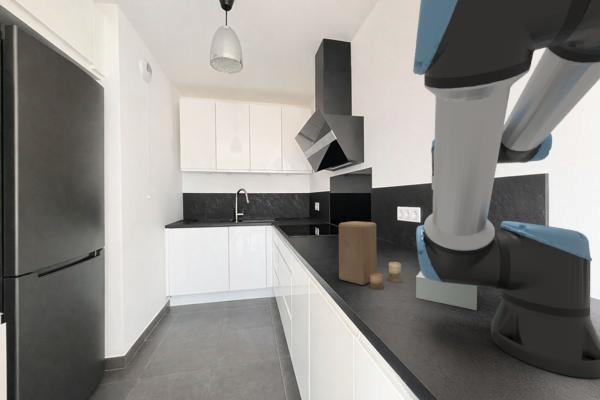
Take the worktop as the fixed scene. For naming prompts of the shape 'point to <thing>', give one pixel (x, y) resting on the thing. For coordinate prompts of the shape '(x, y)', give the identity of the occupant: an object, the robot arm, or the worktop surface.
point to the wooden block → (357, 251)
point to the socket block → (446, 292)
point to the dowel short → (376, 281)
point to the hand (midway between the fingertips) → (447, 271)
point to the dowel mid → (395, 272)
